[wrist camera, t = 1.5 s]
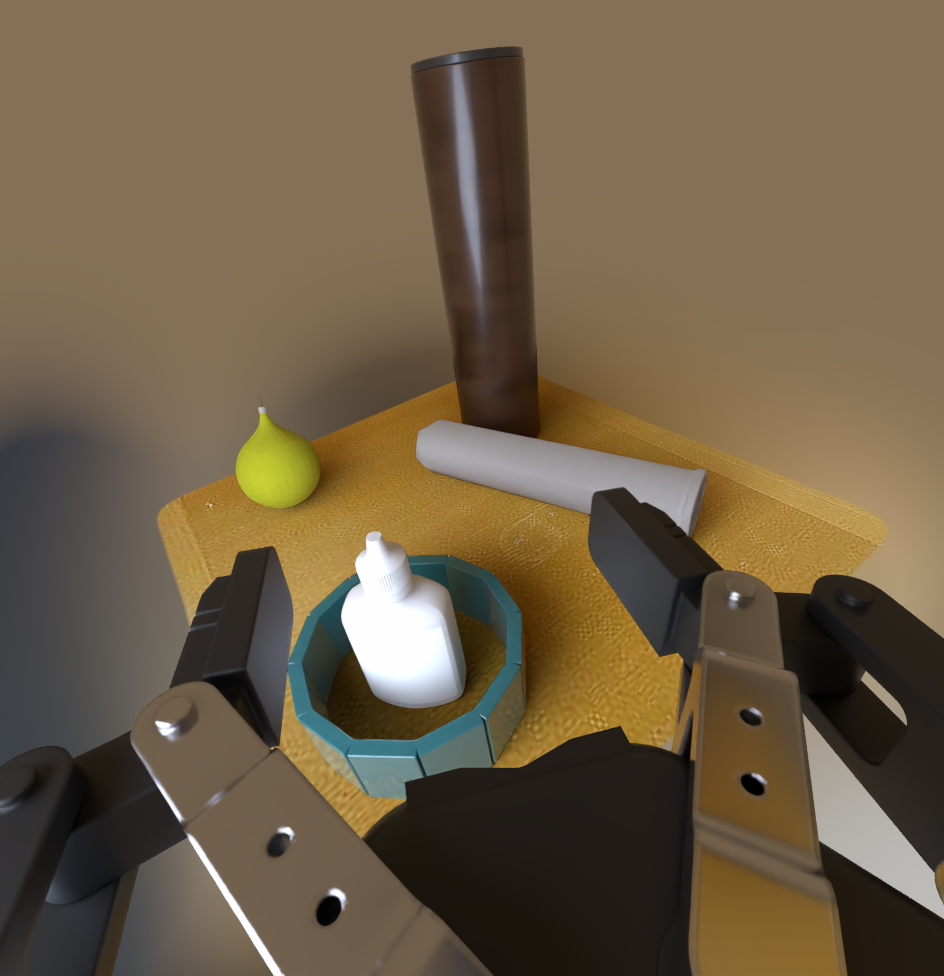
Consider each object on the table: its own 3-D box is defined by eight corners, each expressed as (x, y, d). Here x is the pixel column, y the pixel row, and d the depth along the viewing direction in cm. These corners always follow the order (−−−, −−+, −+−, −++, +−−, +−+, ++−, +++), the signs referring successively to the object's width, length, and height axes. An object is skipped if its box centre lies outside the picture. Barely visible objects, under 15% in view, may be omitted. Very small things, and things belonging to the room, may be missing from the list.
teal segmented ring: (569, 722, 27) (569, 675, 24) (344, 851, 23) (314, 813, 20) (470, 575, 36) (461, 529, 33) (299, 650, 32) (275, 606, 30)
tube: (396, 445, 44) (689, 518, 32) (425, 403, 46) (710, 456, 34) (418, 480, 48) (685, 556, 36) (444, 440, 51) (704, 499, 38)
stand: (554, 435, 50) (546, 41, 32) (485, 461, 48) (434, 53, 30) (515, 405, 56) (490, 60, 38) (452, 427, 54) (393, 71, 36)
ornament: (308, 469, 50) (272, 379, 44) (344, 495, 46) (310, 399, 40) (242, 504, 47) (194, 411, 41) (274, 535, 42) (225, 436, 36)
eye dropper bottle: (436, 738, 27) (387, 591, 20) (362, 690, 30) (296, 547, 22) (479, 674, 29) (450, 525, 22) (408, 636, 32) (362, 493, 25)
